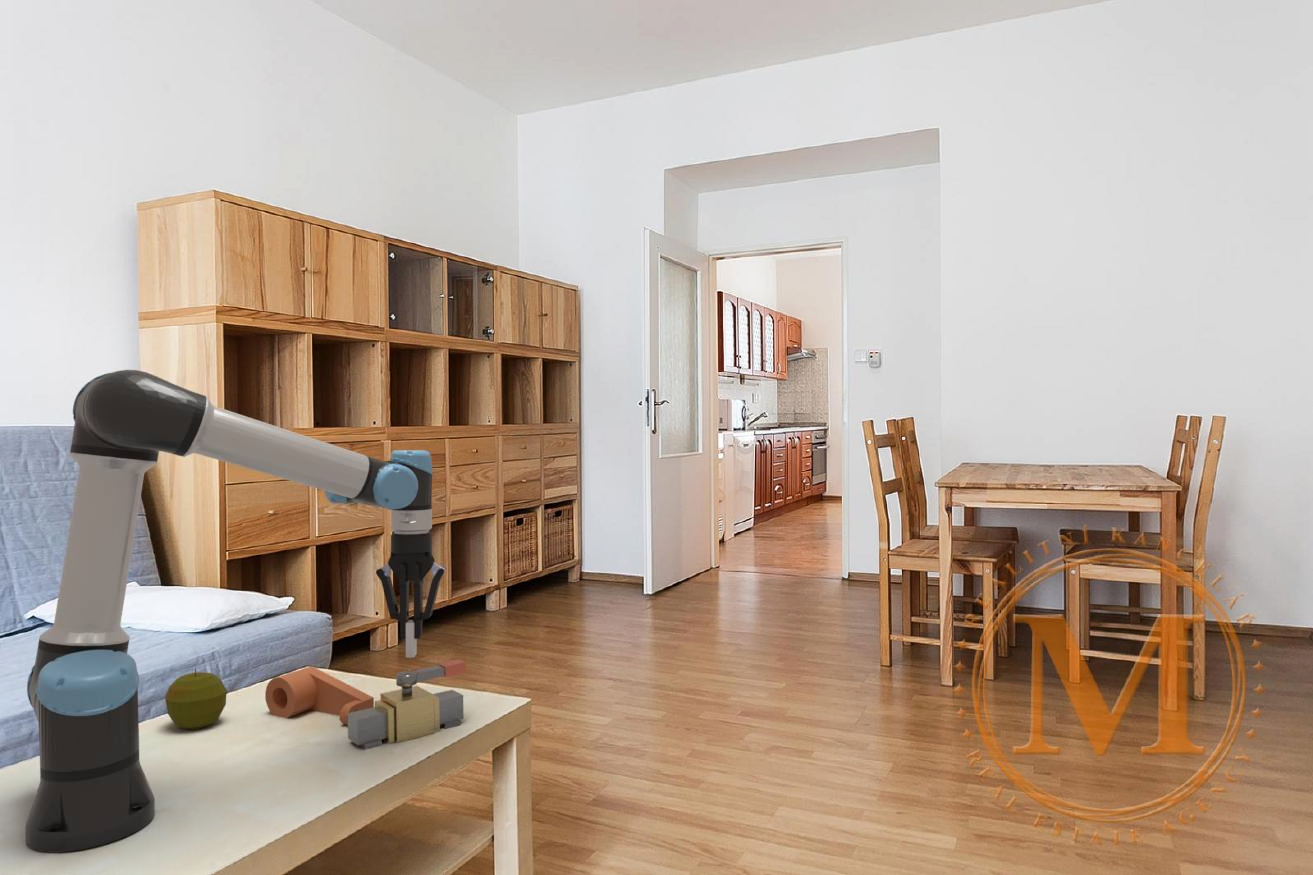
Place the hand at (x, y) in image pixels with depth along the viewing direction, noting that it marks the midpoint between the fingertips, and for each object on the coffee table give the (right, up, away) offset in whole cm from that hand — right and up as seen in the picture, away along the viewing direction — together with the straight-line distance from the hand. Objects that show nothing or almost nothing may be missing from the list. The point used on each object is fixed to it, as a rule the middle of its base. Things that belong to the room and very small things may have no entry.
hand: (411, 655), depth 166 cm
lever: (+5, -3, -4) cm, 7 cm away
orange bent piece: (-18, -13, +2) cm, 22 cm away
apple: (-39, -13, -3) cm, 41 cm away
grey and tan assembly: (+2, -12, -8) cm, 14 cm away
